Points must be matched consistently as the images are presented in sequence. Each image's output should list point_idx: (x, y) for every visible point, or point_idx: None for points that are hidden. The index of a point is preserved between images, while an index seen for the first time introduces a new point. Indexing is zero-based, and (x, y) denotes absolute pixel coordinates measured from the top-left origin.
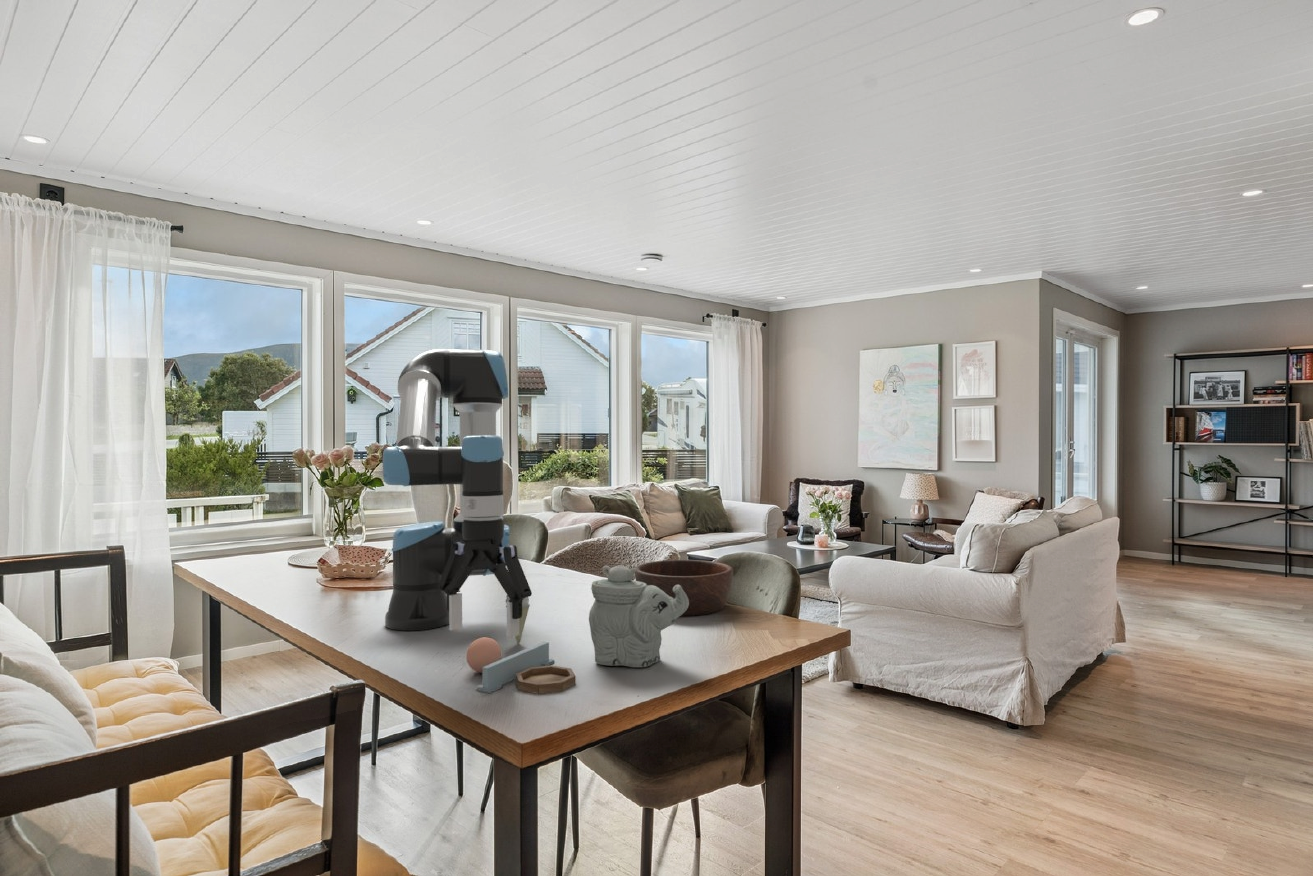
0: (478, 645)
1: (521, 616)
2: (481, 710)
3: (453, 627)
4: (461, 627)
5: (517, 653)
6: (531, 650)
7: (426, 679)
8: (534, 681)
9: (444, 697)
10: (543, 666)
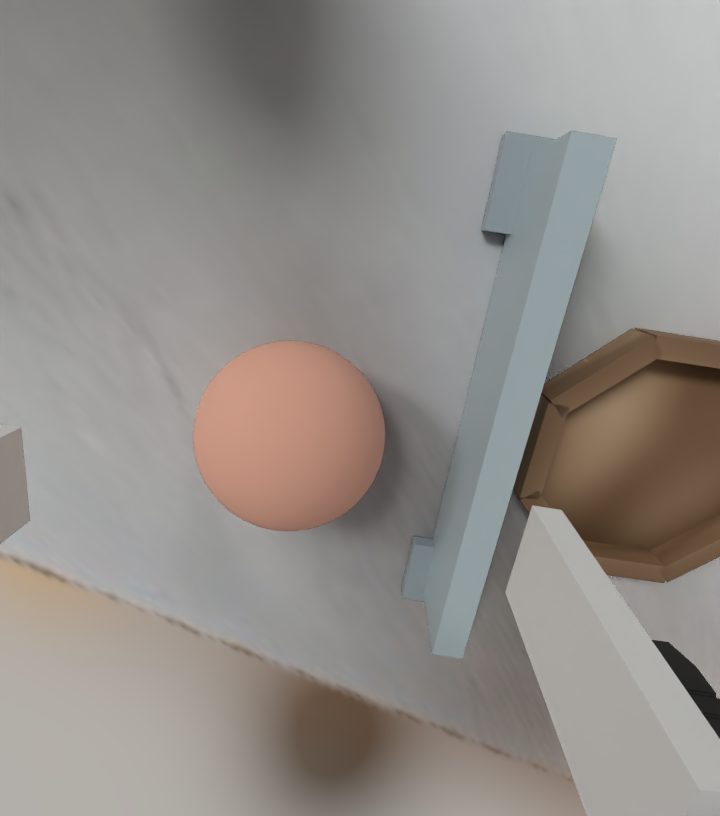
0: (287, 527)
1: (677, 654)
2: (508, 712)
3: (14, 519)
4: (21, 435)
5: (501, 439)
6: (553, 347)
7: (142, 540)
8: (598, 479)
9: (332, 660)
10: (613, 365)
